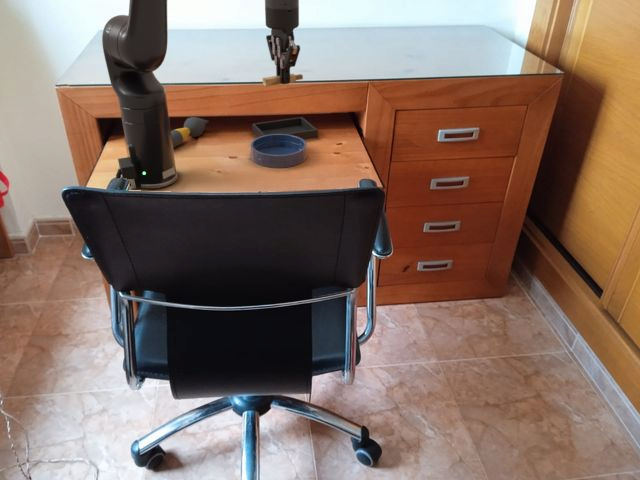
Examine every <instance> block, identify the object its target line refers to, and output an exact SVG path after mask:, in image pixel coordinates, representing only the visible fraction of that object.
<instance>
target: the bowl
mask: <svg viewBox="0 0 640 480" xmlns="http://www.w3.org/2000/svg"><path fill="white" fill-rule="evenodd" d="M249 149H250V158H251V160H252V162H253V163H255V164H257V165H259V166H262V167H265V168H271V169H284V168H285V169H286V168H292V167H295V166H298V165H300V164H302V163H304V162H305V161H307V157H308V144H307V141H306V140H305V139H304V140H303V139H302V138H300V137H297V136H293V135H288V134H270V135H264V136H261V137H255V138H254V139H253V140H252V141H251V142H250V144H249Z"/></svg>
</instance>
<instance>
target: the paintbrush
mask: <svg viewBox="0 0 640 480" xmlns="http://www.w3.org/2000/svg"><path fill="white" fill-rule="evenodd" d="M209 122H210V120H208V119H207V120H206V119H204V118H200V117H196V116H191V117H188V118H187V119H186V120H184V123H183V127H180V128H176V129H171V136H172V143H173V149H174V148H176V147H178V146H180V145H181V144H182V143H184V142H185V140H186V139H187V138H188V137H192V138H197V137H200V136H201V135H203V133H204V130H205V128H206V125H207V124H208V123H209Z"/></svg>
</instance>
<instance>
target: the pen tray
mask: <svg viewBox="0 0 640 480" xmlns="http://www.w3.org/2000/svg"><path fill="white" fill-rule="evenodd" d="M251 129H252V133H253V134H254V135H255V136H256V138H258V137H261V136H264V135H270V134H288V135H293V136H297V137H300V138H302V139H303V140H304V141H305V140H310V139H315V138H319V137H318V136H319V132H318V131H319V129H318V128H316V127H315V126H314V125H313V124H311V123H310V122H309V120H306V119H305V118H304V117H303V116H299V117H292V118H284V119H277V120H271V121H264V122H257V123H251Z"/></svg>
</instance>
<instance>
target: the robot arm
mask: <svg viewBox="0 0 640 480" xmlns="http://www.w3.org/2000/svg"><path fill="white" fill-rule="evenodd" d="M128 3H129V5H128V15H127V14H118V15H115V16H113V17H111V18H110V19H108V21H107V22H106V23H105V25H104V27H103V30H102V34H101V35H102V37H101V43H102V50H103V56H104V60H105V65H106V69H107V73H108V79H109V82H110V85H111V88H112V90H113V92H114V93H115V96H116V97H117V102H118V107H119V112H120V118H121V122H122V128H123V133H124V137H123V138H124V144H125V149H126V154H127V156H126V157H121V158H117V161H118V162H117V163H118V169H117V172H116V174H115V179H116V178H120V177H121V178H122V179H123V178H127V179H129V180H128V181H130V180H132V183H133V185H134V188H135V189H149V190H151V189H152V190H153V189H161V188H165V187H168V186H171V185H173V184H175V182H176V181H177V180H178V171H177V166H176V159H175V151H174V148H173V143H172V136H171V131H172V129H171V123H170V115H169V107H168V101H167V99H168V98H167V93H166V89H165V87H164V85H163V84H162V83H161V82H160V81H159V79H157V77H156V75H155V74H154V72H156V70H158V69H159V68H160V67H161V66H162V65H163V63H164V61H165V59H166V55H167V51H168V43H169V42H168V38H169V37H168V36H169V35H168V34H169V33H168V30H169V29H168V0H129V2H128ZM264 12H265V13H264V14H265V26H266V27H267V28H268V29H270V34H267V35H266V36H265V39H266V43H267V48H268V51H269V55H270V60H271V61H272V62H274V65H275V69H276V71H275V72H276V73H275V74H276V75H275V76H280V77H281V83H282V84H281V85H288V84H290V74H291V68H294V67H296V64H297V61H298V57H299V55H300V51H301V46H300V45H299V44H296V43H295V35H294V30H295V29H297V28H298V27H299V26H300V0H264ZM132 183H130V188H131V187H132Z"/></svg>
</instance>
